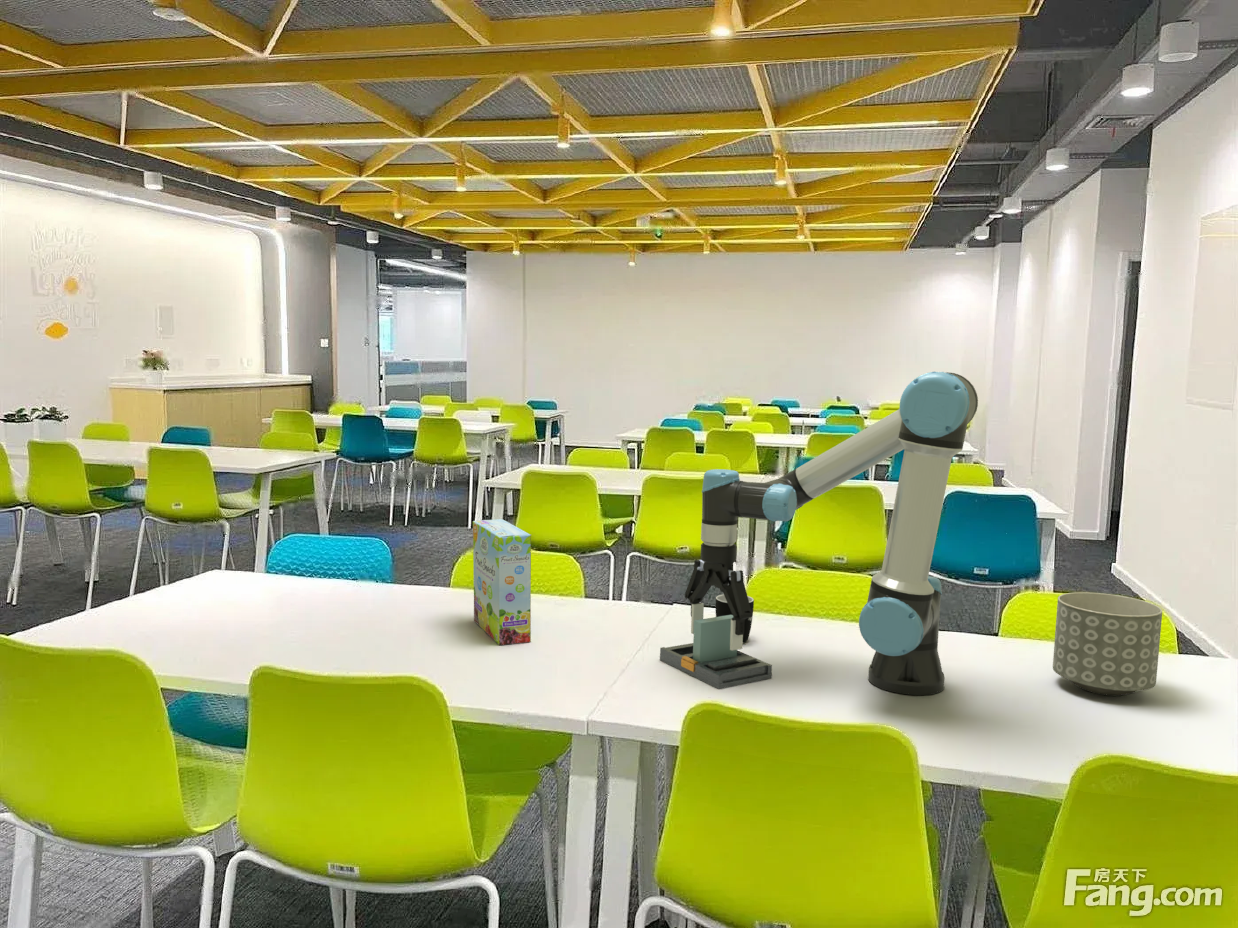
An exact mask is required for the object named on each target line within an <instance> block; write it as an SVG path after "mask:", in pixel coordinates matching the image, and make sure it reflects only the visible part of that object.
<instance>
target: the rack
mask: <svg viewBox="0 0 1238 928" xmlns="http://www.w3.org/2000/svg"><path fill="white" fill-rule="evenodd" d="M659 649H660V651H659V661H661V662H663V663H665V664H667V665H669V666H672V667H673V668H674V669H677V670H679V671H681V672H683V673H685V674H686V675H689V676H691V677H693V678H695V679H697V680H699V681H701V682H703V683H705V684H707V685H709V686H711V687H714V688H715V689H717V690H722V689H727V688H732V687H735V686H736V687H737V686H741V685H746V684H751V683H755V682H760V681H761V682H762V681H765V680H770V679H772V678H773V674H772V671H773V664H770V663H768V662H765V661H763V660H761V659H759V658H756V657H754V656H751V655H749V654H747V653H744V652H742V651H740V650H739V649H738V650H737V656H734V657H729V658H723V659H718V660H712V661H707V662H702V663H698V661H695V660H693V642H691V643H684V644H680V645H679V644H678V645H673V646H667V647H665V646H663V647H662V646H661V647H660V648H659Z"/></svg>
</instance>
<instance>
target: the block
mask: <svg viewBox="0 0 1238 928" xmlns="http://www.w3.org/2000/svg"><path fill="white" fill-rule="evenodd" d="M732 618H733V615H726V616H720V617H716V616H715V617H709V618H708V617H706V618H703V619H700V620H694V634H693V638H692V639H693V640H692V641H693V642H692V643H693V660H695V661H698V663H702V662H707V661H712V660H718V659H723V658H729V657H734V656H737V650H733V651H732V650H730V631H731V619H732Z"/></svg>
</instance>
